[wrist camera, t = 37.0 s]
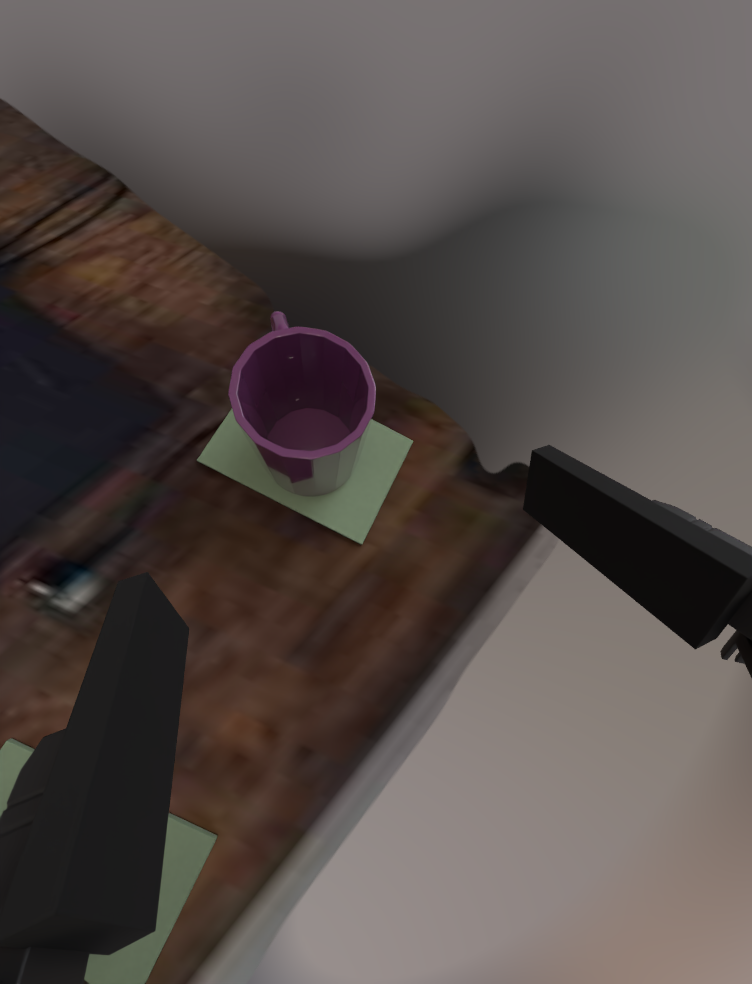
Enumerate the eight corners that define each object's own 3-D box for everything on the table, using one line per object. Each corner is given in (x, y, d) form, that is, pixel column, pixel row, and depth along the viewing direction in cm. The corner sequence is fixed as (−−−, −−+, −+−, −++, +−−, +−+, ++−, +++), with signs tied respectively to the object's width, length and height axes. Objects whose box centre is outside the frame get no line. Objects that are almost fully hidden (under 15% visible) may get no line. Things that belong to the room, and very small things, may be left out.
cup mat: (-115, 924, 21) (-123, 930, 21) (11, 737, 24) (6, 740, 24) (121, 1030, 22) (118, 1038, 22) (217, 835, 25) (216, 839, 24)
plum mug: (370, 481, 32) (394, 436, 21) (277, 509, 30) (251, 475, 19) (332, 370, 33) (337, 277, 23) (242, 390, 32) (201, 300, 21)
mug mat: (198, 461, 30) (196, 460, 30) (263, 364, 33) (263, 362, 33) (361, 544, 31) (362, 544, 30) (412, 442, 33) (413, 440, 33)
